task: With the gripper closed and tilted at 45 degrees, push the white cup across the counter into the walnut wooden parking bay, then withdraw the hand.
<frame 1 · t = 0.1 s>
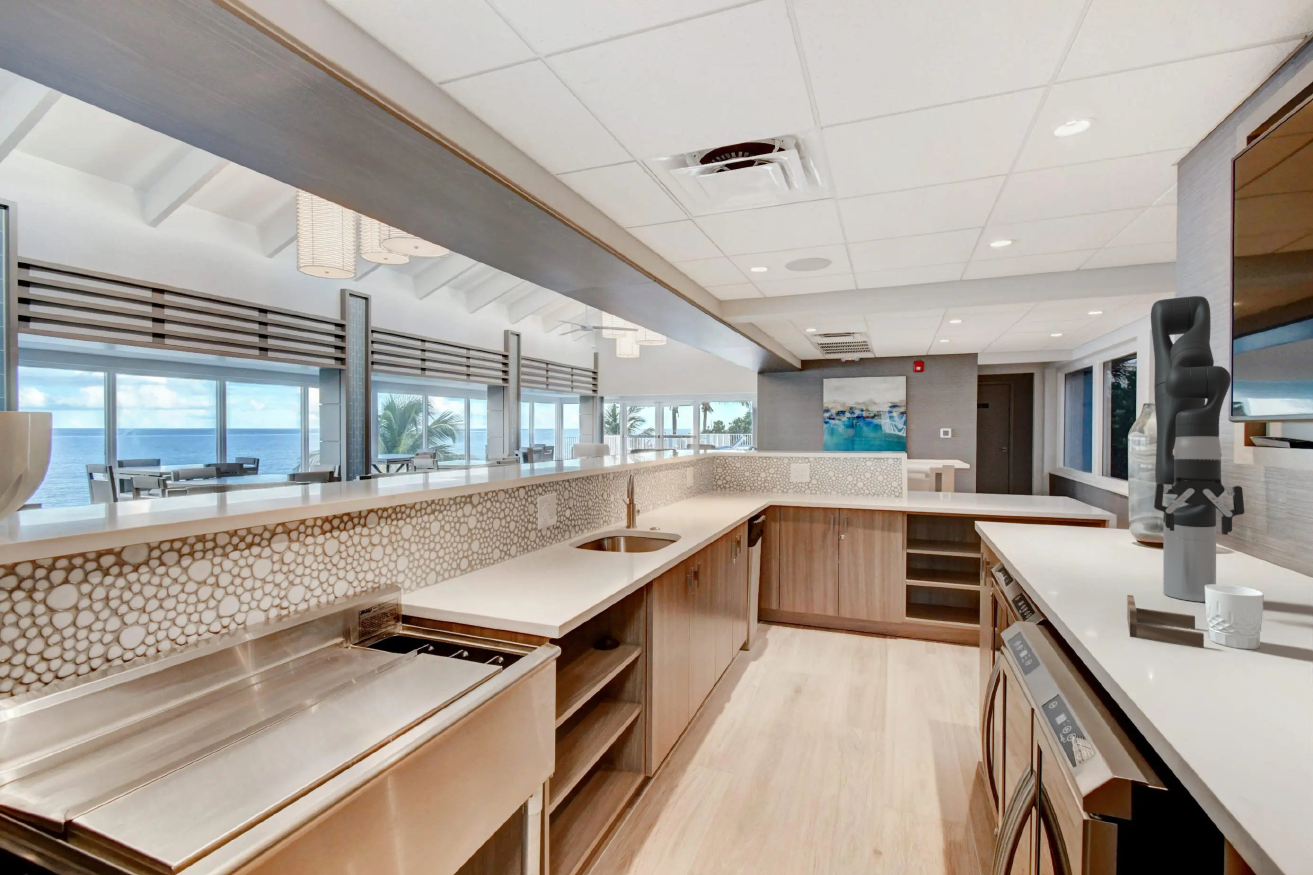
hand: (1197, 532, 127), 17 cm above the countertop, tool pointing down, fingers open, 8 cm apart
walnut bay: (1166, 632, 115), on the countertop
white cup: (1233, 643, 109), on the countertop
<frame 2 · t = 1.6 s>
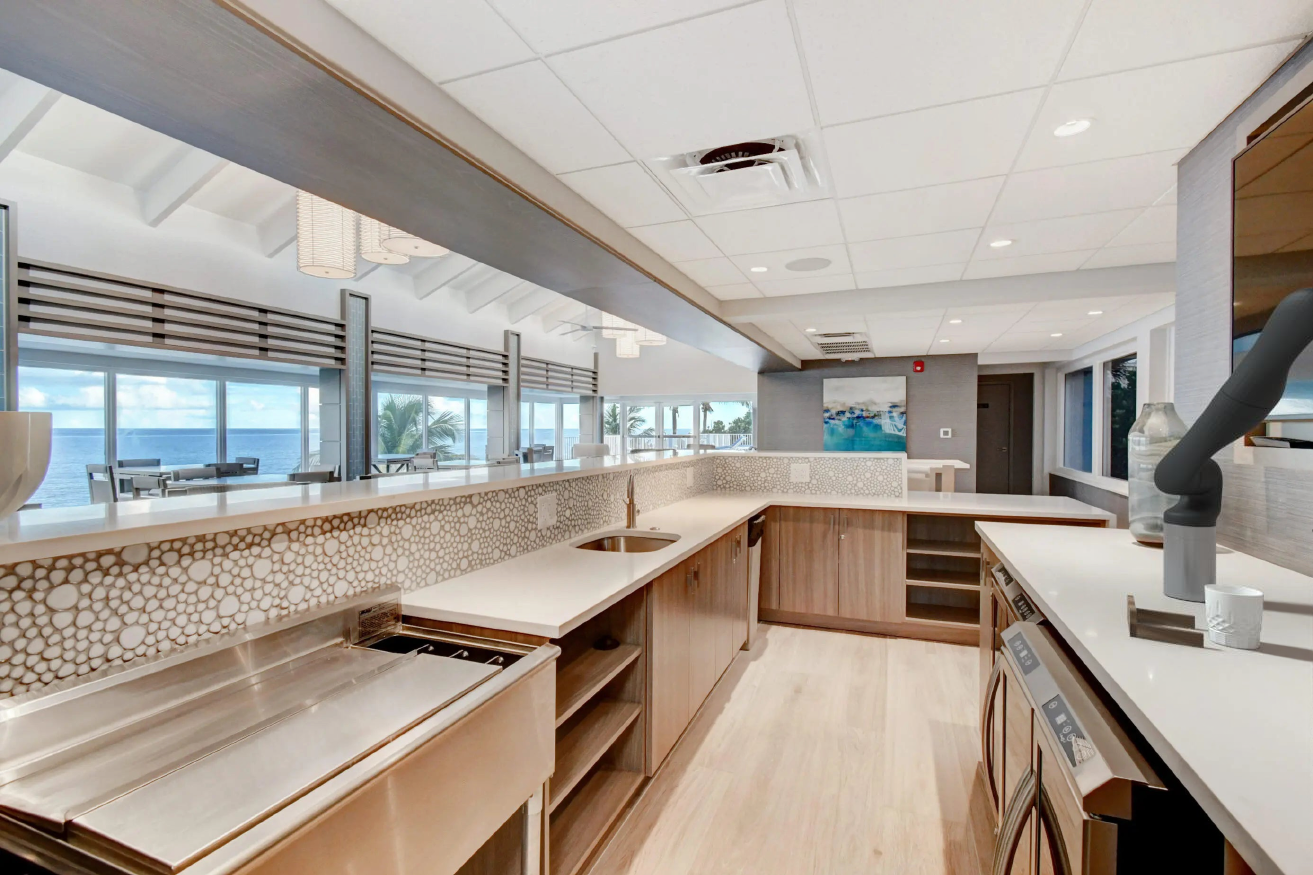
nothing on the countertop moved.
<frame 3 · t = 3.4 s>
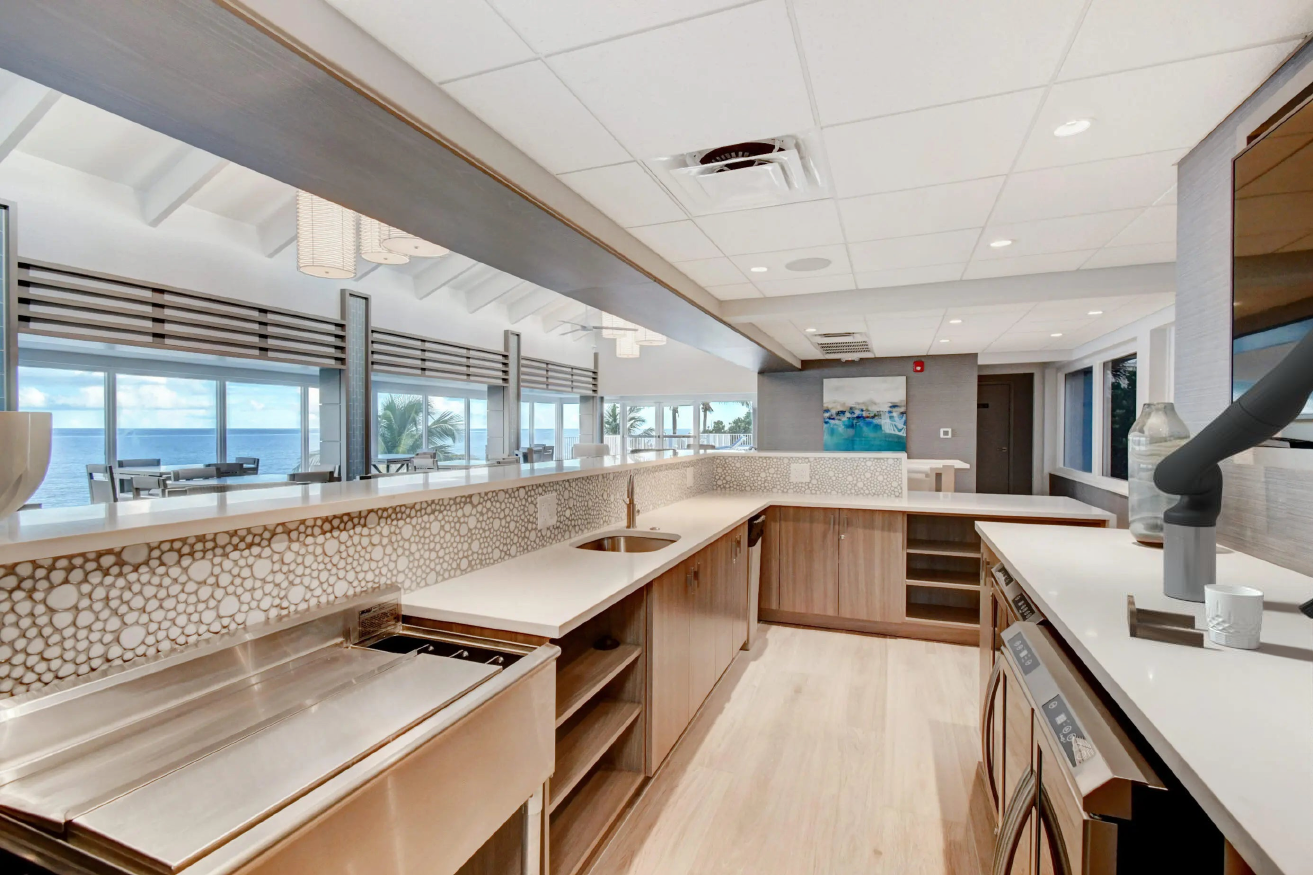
hand: (1304, 613, 104), 7 cm above the countertop, tool tilted 45°, fingers closed
nothing on the countertop moved.
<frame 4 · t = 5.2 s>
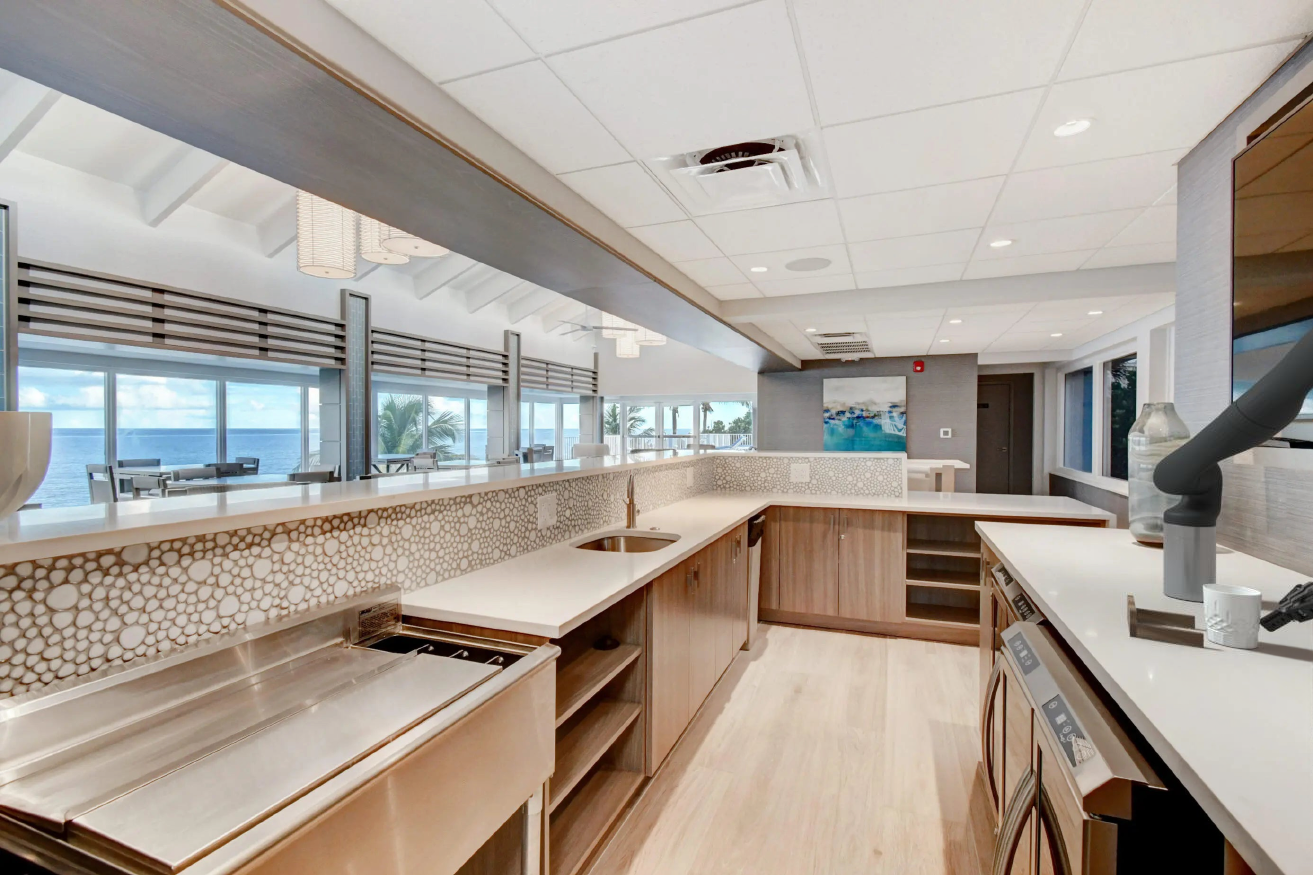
hand: (1263, 626, 107), 4 cm above the countertop, tool tilted 45°, fingers closed
white cup: (1231, 643, 110), on the countertop, touching gripper
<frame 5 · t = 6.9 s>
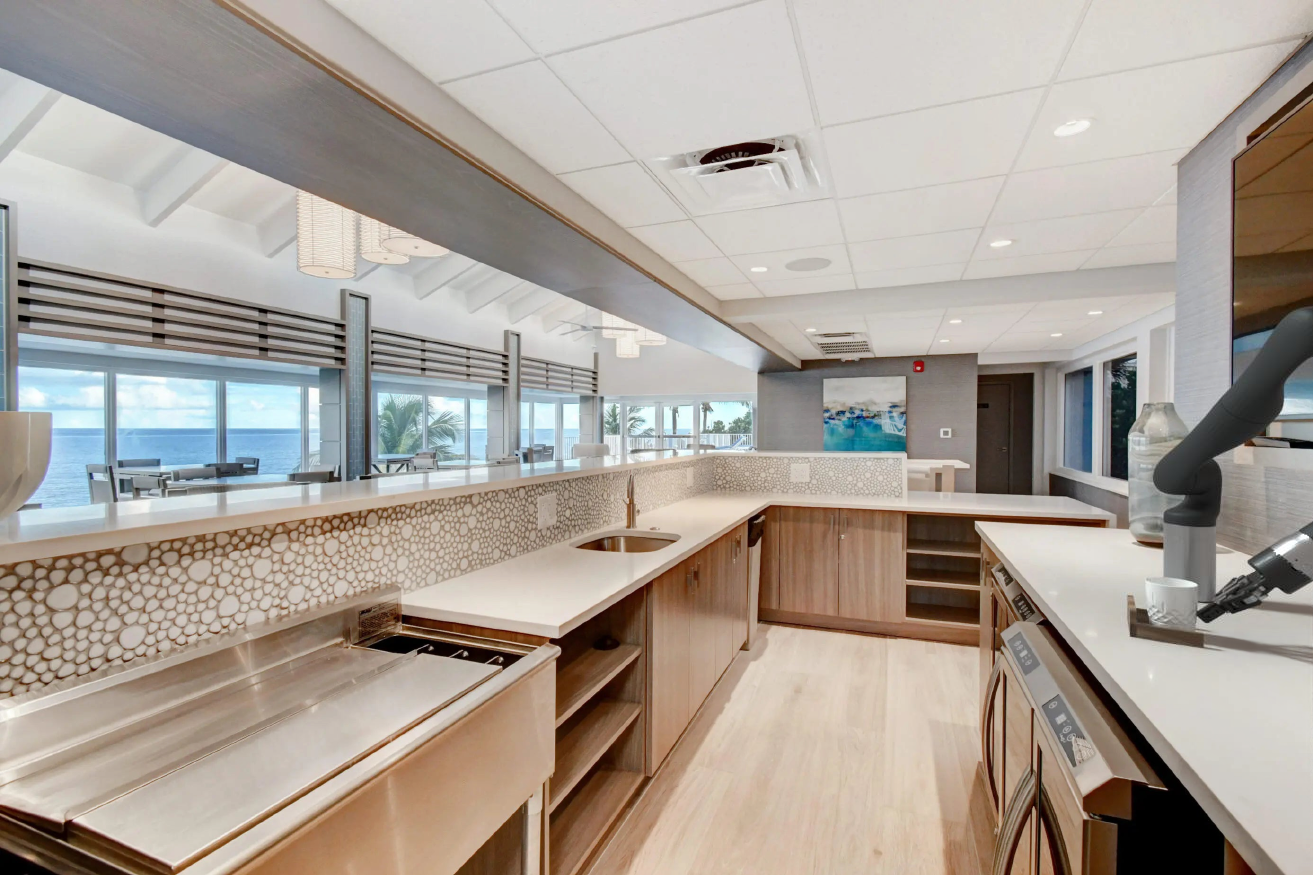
hand: (1200, 618, 112), 4 cm above the countertop, tool tilted 45°, fingers closed
white cup: (1172, 633, 115), on the countertop, touching gripper
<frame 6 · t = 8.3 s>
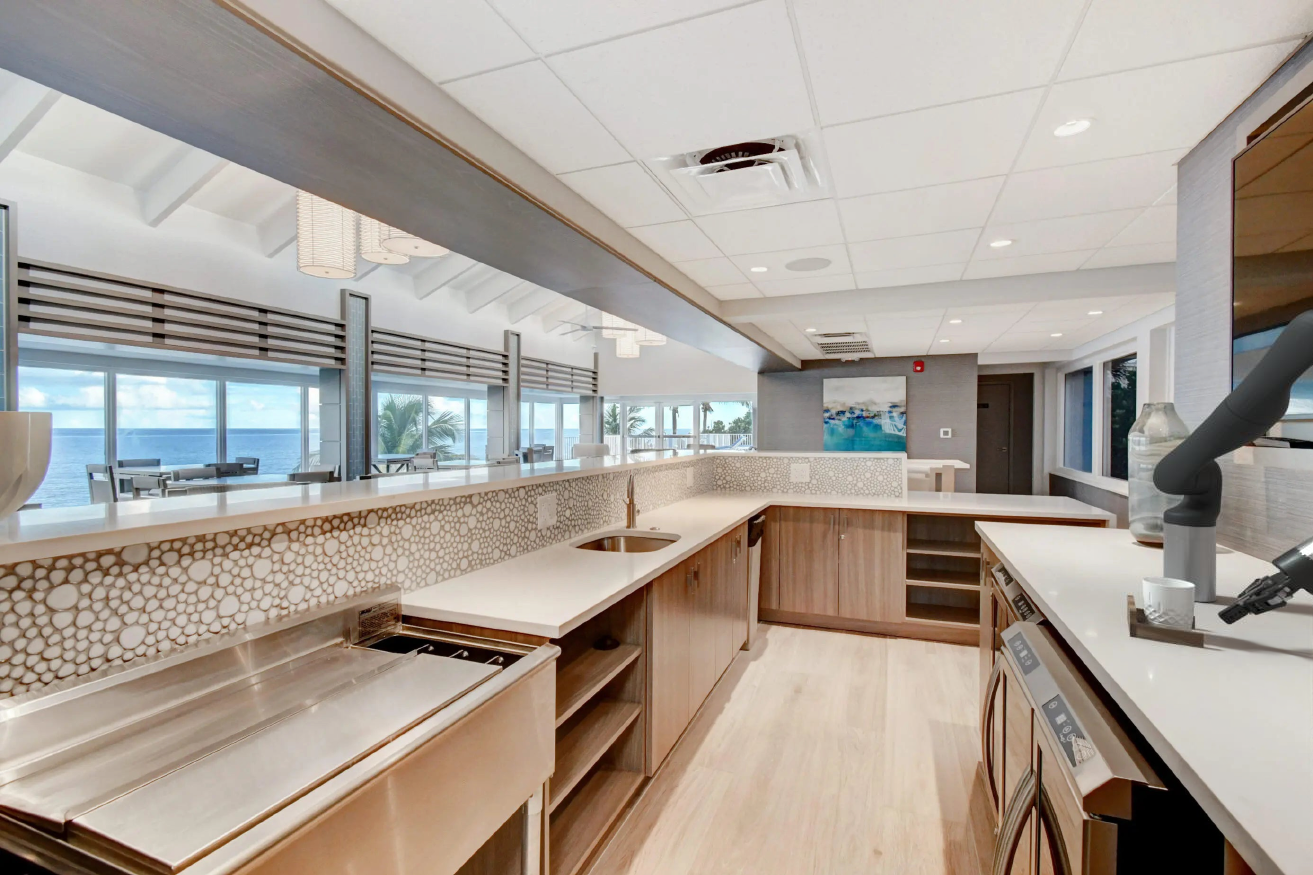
hand: (1222, 619, 110), 4 cm above the countertop, tool tilted 45°, fingers closed
white cup: (1168, 633, 115), on the countertop
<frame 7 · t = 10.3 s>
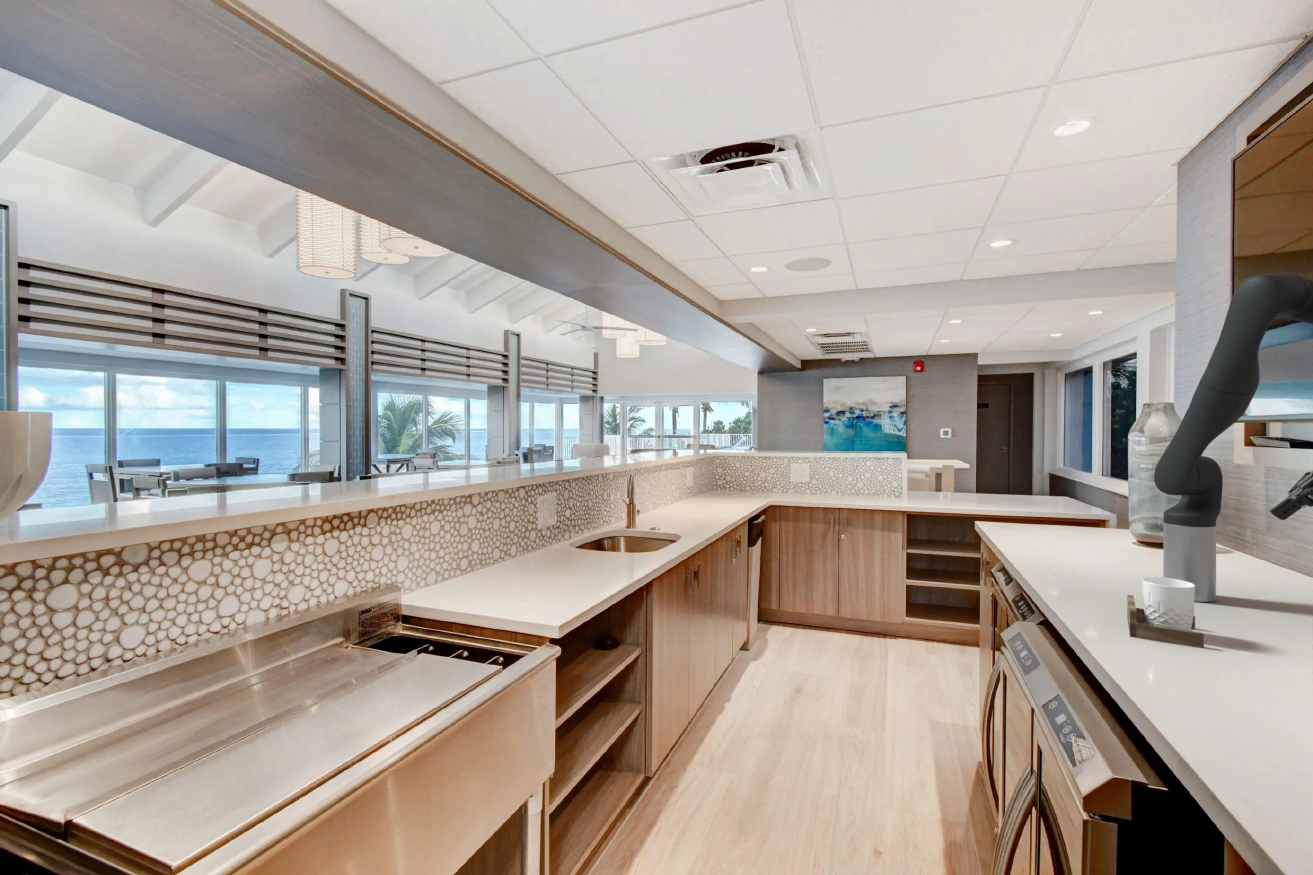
hand: (1275, 516, 109), 24 cm above the countertop, tool tilted 40°, fingers closed
nothing on the countertop moved.
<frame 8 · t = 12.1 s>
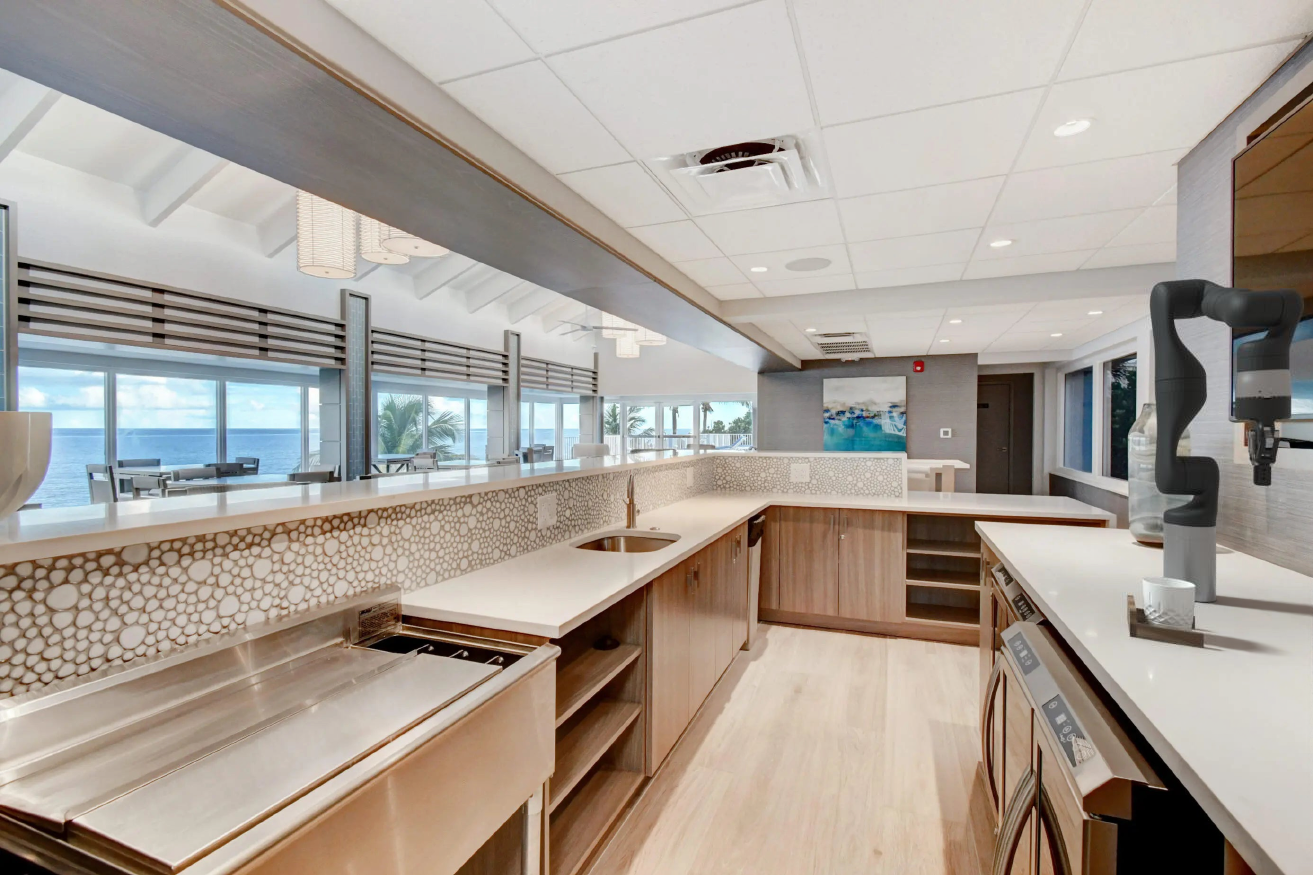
hand: (1262, 485, 112), 29 cm above the countertop, tool pointing down, fingers closed
nothing on the countertop moved.
at the end: white cup inside the target area (0.6 cm from its centre), on the countertop; white cup tilted 0°; the gripper is holding nothing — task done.
